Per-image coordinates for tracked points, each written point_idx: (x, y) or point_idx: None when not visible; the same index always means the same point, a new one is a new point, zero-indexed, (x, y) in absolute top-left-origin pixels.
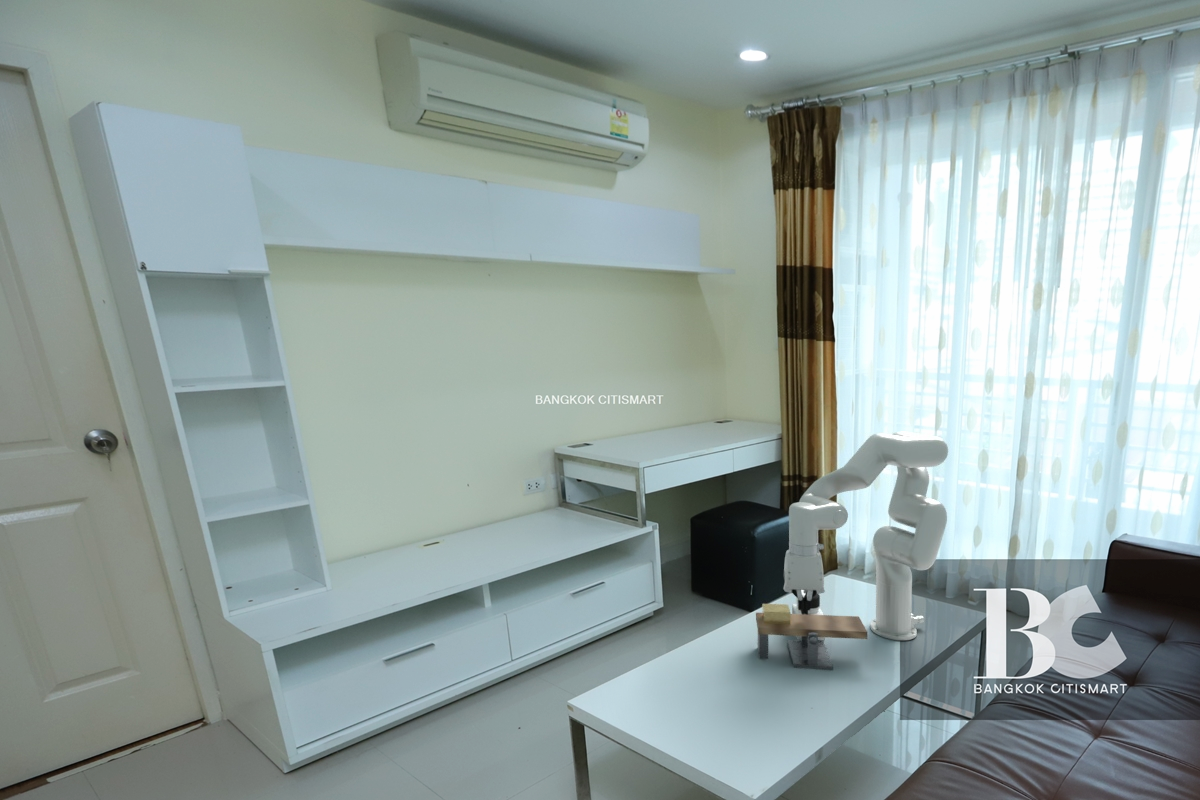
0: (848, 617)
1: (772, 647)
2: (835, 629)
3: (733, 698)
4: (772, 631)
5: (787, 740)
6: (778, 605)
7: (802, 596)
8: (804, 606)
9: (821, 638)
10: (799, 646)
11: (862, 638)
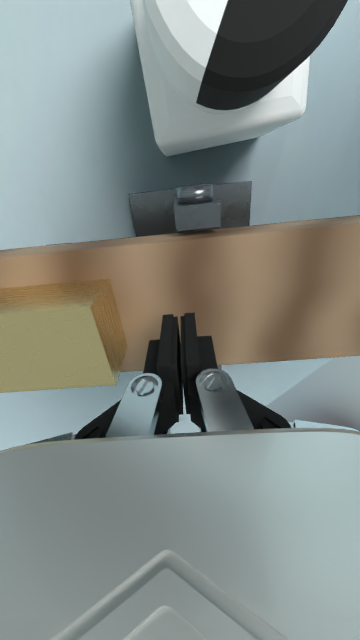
0: None
1: (88, 232)
2: (292, 353)
3: (61, 421)
4: None
5: None
6: (39, 326)
7: (171, 417)
8: (182, 391)
9: (251, 138)
10: (167, 232)
11: None
